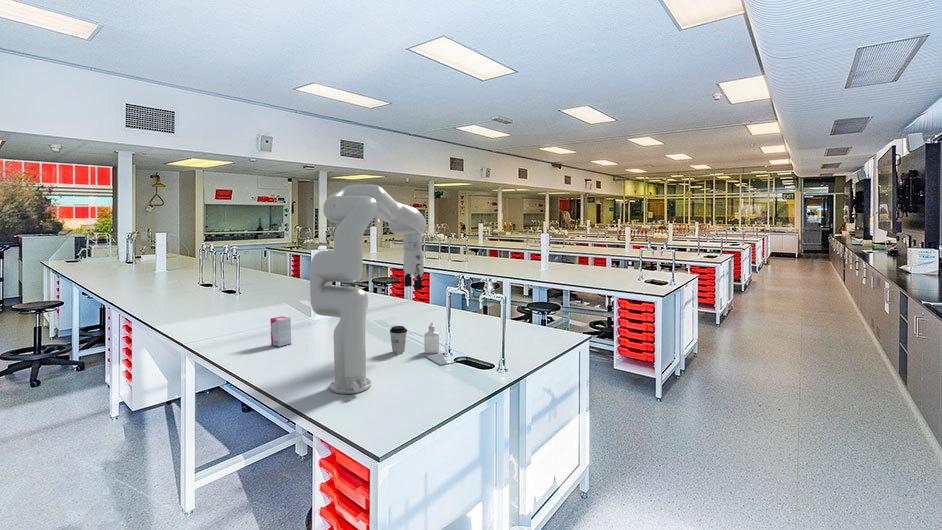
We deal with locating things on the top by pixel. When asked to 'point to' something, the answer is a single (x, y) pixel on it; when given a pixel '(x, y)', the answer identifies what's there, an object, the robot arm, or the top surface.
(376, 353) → the top surface
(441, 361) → the mat
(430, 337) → the eye dropper bottle
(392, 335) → the coffee cup
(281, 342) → the supplement box
